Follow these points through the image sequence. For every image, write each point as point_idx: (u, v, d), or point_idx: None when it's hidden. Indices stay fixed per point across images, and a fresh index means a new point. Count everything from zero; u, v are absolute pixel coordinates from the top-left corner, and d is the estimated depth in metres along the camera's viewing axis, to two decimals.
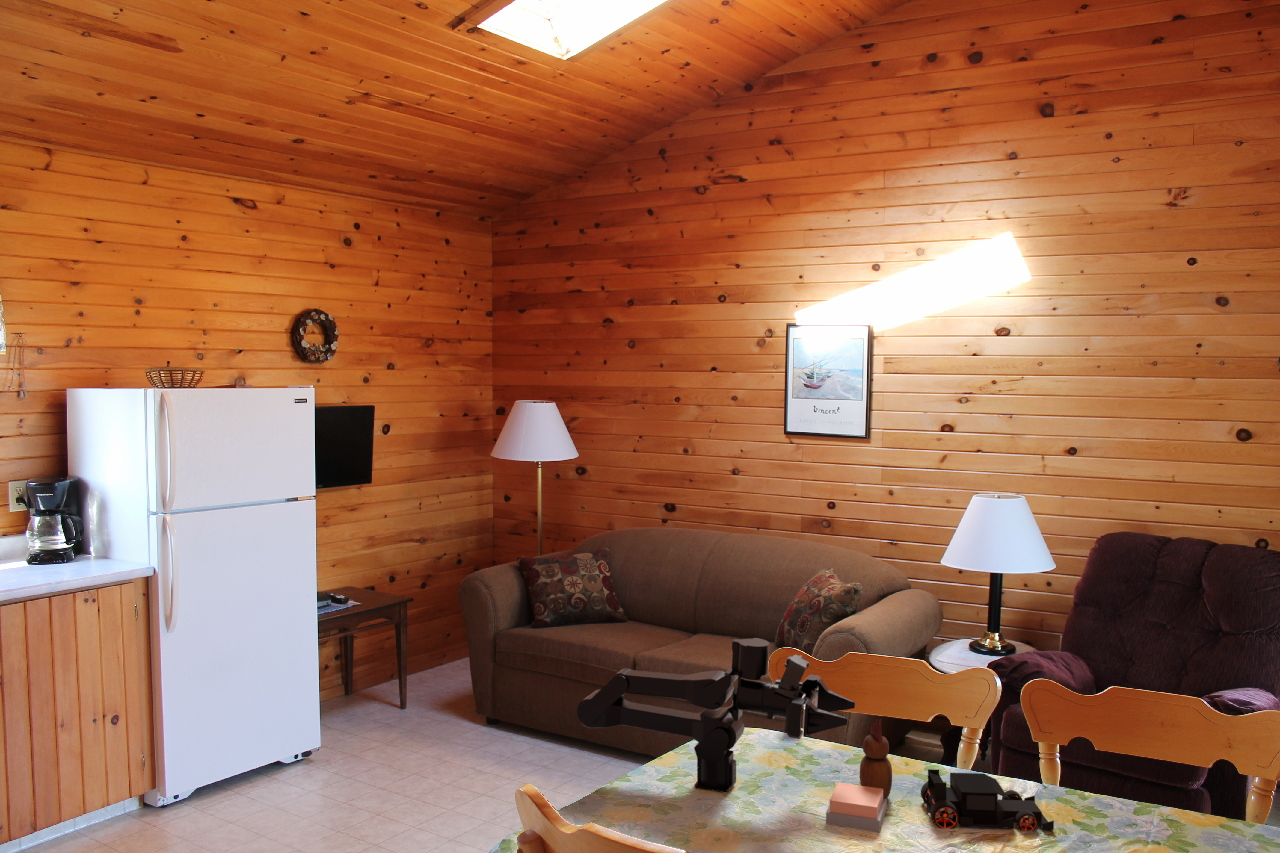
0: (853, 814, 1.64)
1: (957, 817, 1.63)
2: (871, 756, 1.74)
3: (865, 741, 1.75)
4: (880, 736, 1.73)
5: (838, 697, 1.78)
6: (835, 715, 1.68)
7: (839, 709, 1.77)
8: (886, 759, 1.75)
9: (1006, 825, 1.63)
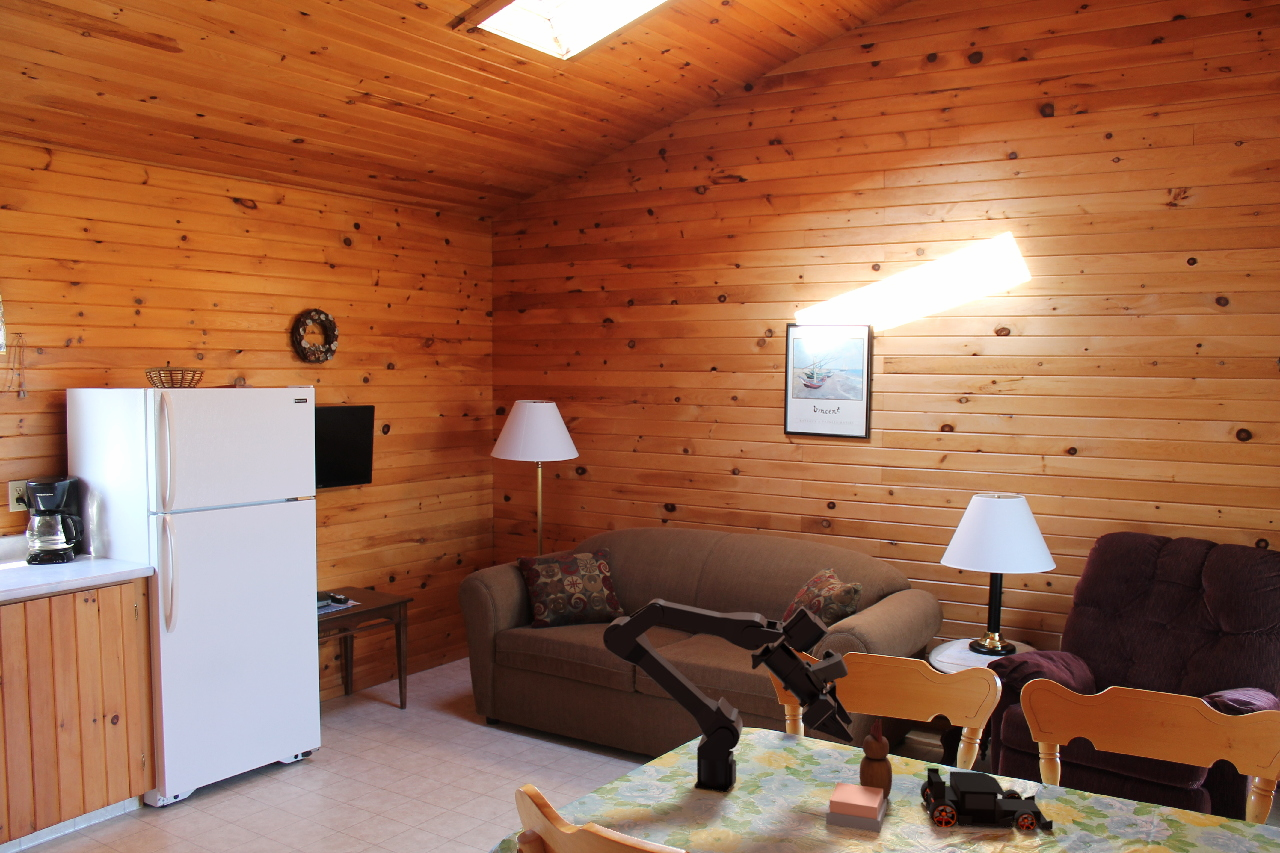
0: (853, 814, 1.64)
1: (956, 816, 1.64)
2: (871, 756, 1.74)
3: (865, 741, 1.75)
4: (880, 736, 1.73)
5: (842, 708, 1.81)
6: (846, 730, 1.71)
7: None
8: (886, 759, 1.75)
9: (1005, 824, 1.63)
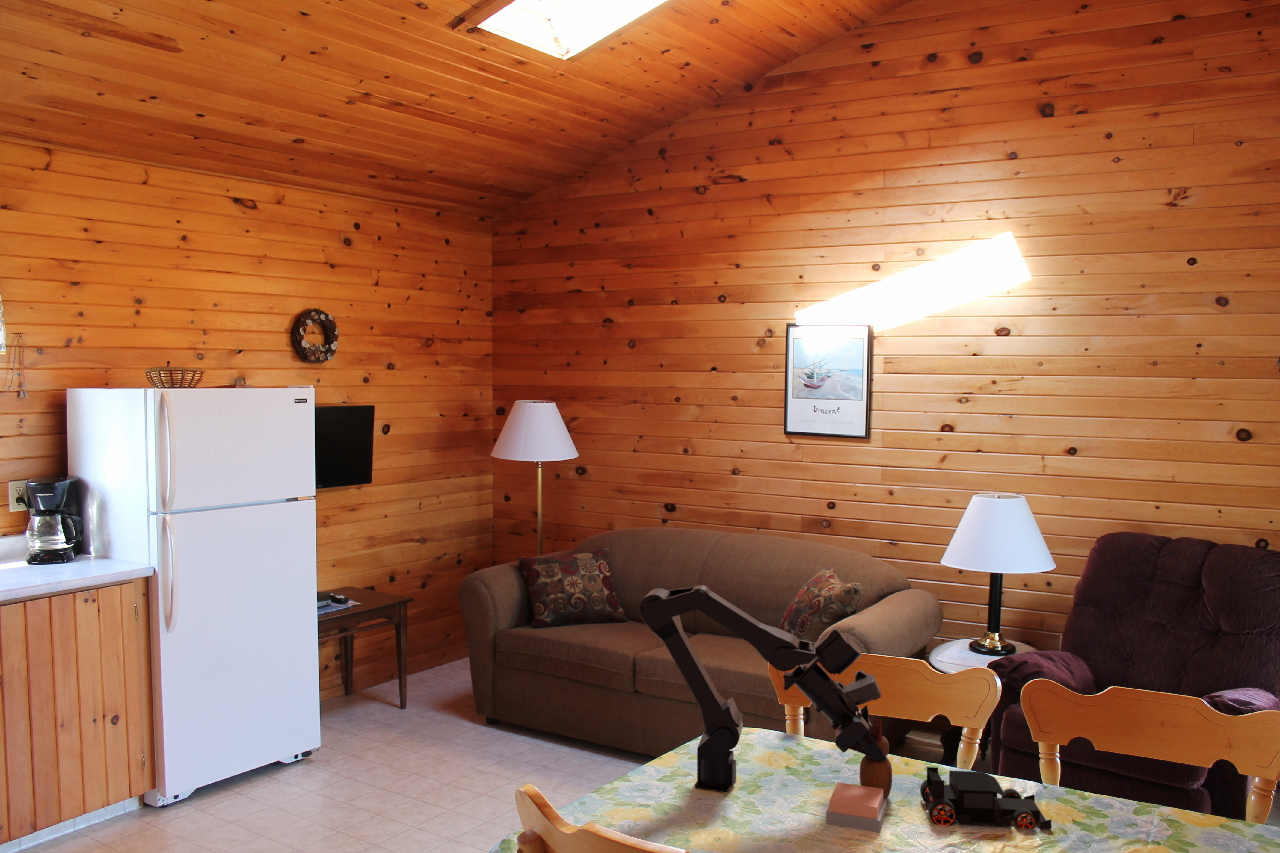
0: (853, 814, 1.64)
1: (954, 814, 1.64)
2: None
3: None
4: (880, 736, 1.73)
5: None
6: (879, 748, 1.72)
7: None
8: (886, 759, 1.75)
9: (1003, 823, 1.63)
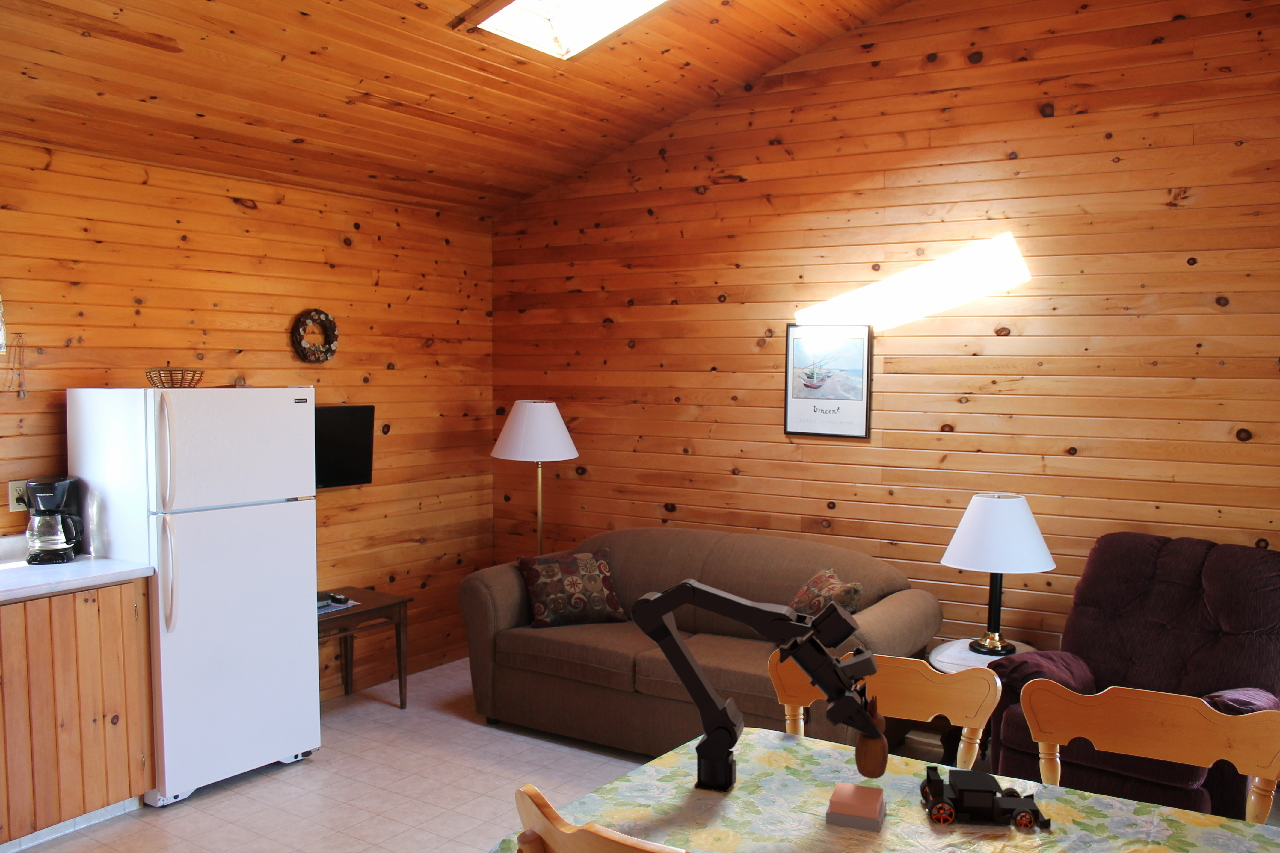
0: (853, 814, 1.64)
1: (954, 813, 1.65)
2: None
3: None
4: (875, 713, 1.71)
5: None
6: (874, 725, 1.70)
7: None
8: (882, 736, 1.72)
9: (1003, 822, 1.64)
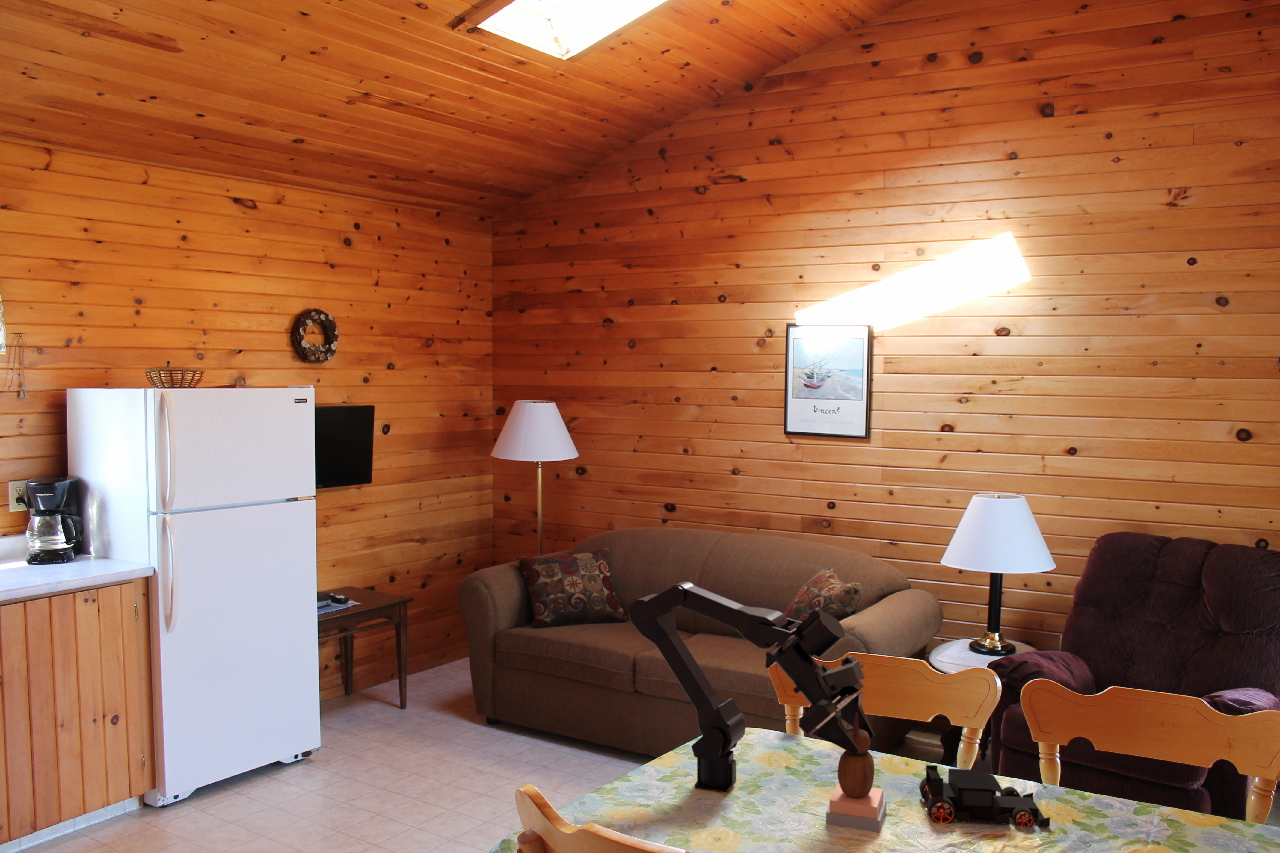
0: (853, 814, 1.64)
1: (953, 812, 1.65)
2: None
3: None
4: (857, 730, 1.65)
5: (864, 719, 1.71)
6: (851, 740, 1.63)
7: None
8: (866, 755, 1.66)
9: (1002, 821, 1.64)
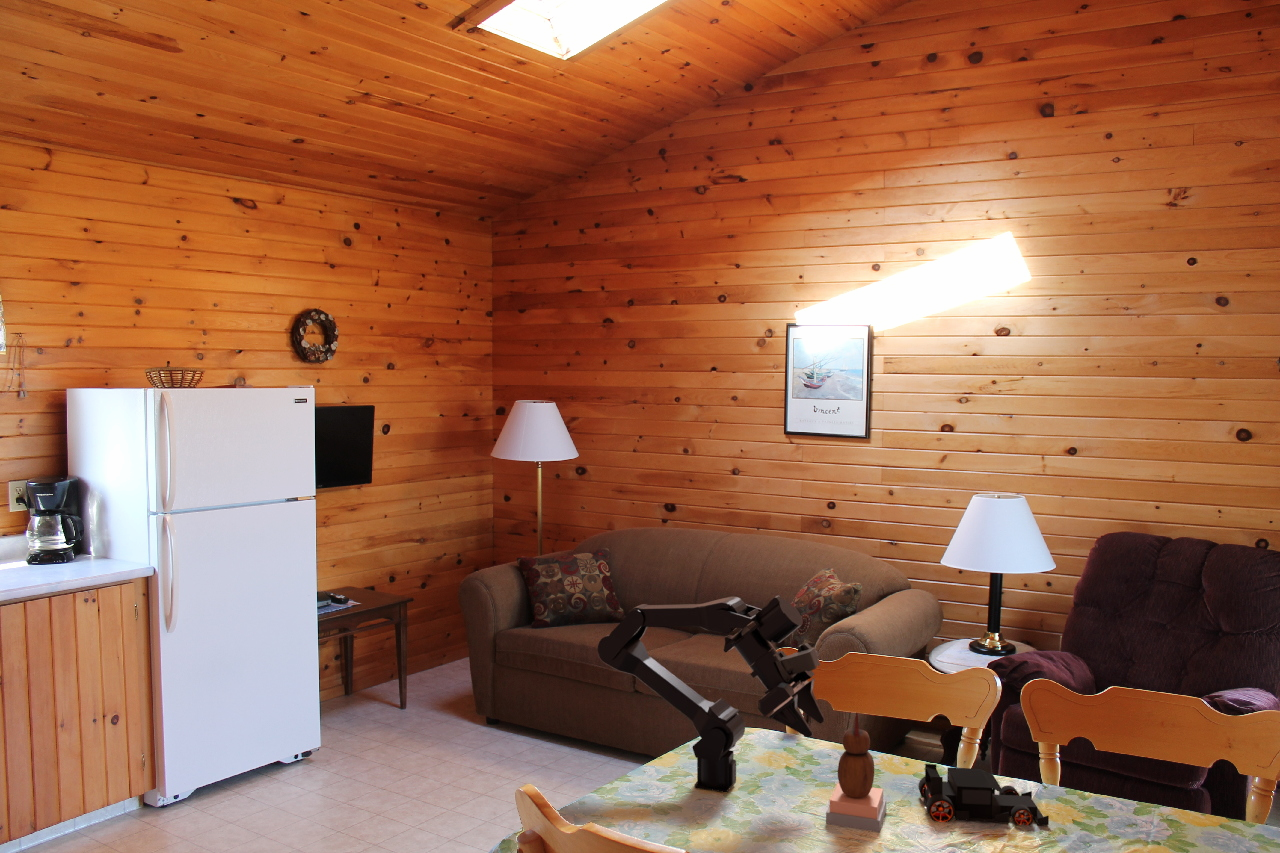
0: (853, 814, 1.64)
1: (952, 811, 1.66)
2: (847, 750, 1.66)
3: (844, 734, 1.67)
4: (857, 730, 1.65)
5: (815, 705, 1.77)
6: (806, 723, 1.68)
7: (807, 713, 1.78)
8: (866, 755, 1.66)
9: (1001, 819, 1.65)
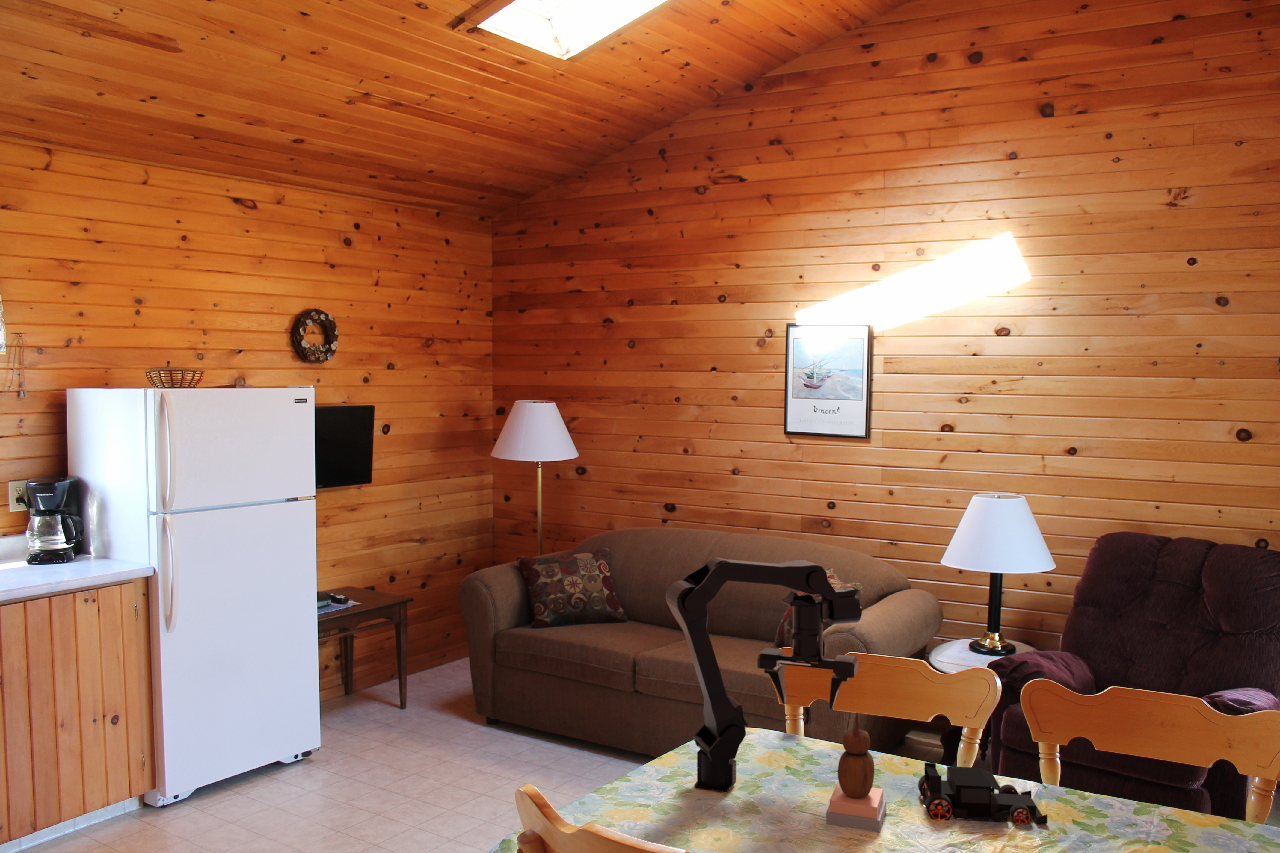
0: (853, 814, 1.64)
1: (951, 809, 1.66)
2: (847, 750, 1.66)
3: (844, 734, 1.67)
4: (857, 730, 1.65)
5: None
6: None
7: (782, 691, 1.87)
8: (866, 755, 1.66)
9: (1000, 818, 1.65)
